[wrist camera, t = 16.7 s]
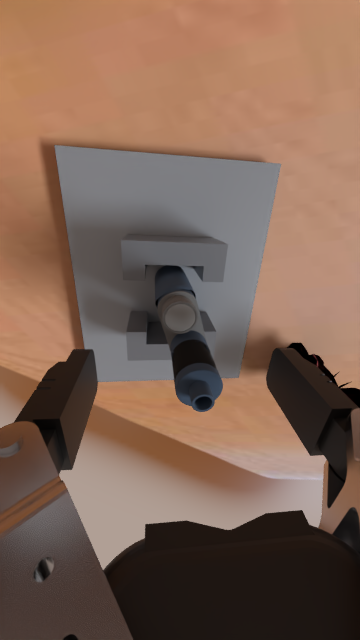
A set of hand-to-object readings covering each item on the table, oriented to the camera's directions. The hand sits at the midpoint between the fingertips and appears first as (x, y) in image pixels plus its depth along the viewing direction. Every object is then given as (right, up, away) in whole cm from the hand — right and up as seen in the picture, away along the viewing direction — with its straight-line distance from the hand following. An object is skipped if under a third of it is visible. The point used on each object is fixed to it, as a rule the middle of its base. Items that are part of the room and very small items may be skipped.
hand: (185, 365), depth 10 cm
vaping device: (-1, +5, +10) cm, 11 cm away
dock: (-1, +5, +11) cm, 12 cm away
